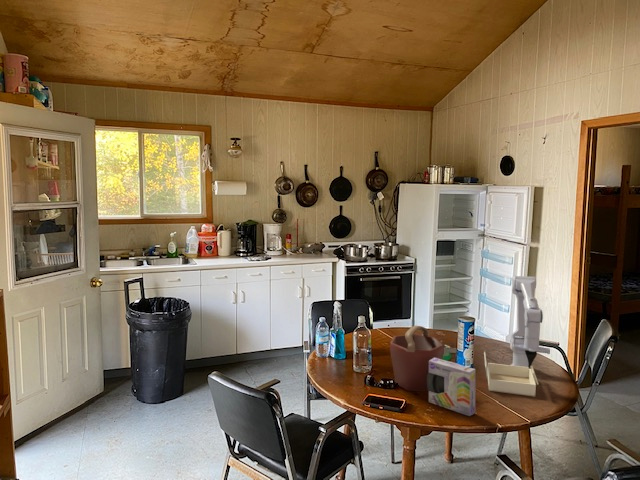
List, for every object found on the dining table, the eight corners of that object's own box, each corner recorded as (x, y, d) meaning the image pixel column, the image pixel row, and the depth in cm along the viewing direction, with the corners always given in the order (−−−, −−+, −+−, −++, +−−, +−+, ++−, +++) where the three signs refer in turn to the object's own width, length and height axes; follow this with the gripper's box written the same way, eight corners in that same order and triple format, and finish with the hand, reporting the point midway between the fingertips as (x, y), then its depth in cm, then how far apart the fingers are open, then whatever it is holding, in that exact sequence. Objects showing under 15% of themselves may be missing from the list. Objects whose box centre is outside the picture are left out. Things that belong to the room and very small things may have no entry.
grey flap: (486, 362, 226) (485, 362, 226) (485, 351, 226) (484, 351, 226) (488, 378, 207) (486, 378, 207) (486, 367, 207) (485, 367, 207)
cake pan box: (425, 401, 197) (426, 358, 195) (432, 397, 200) (433, 355, 198) (469, 418, 183) (471, 372, 181) (475, 413, 187) (478, 368, 185)
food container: (430, 361, 241) (430, 341, 239) (440, 360, 243) (441, 340, 242) (445, 370, 229) (445, 349, 228) (456, 369, 231) (457, 348, 230)
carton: (487, 373, 226) (487, 362, 226) (529, 378, 221) (530, 367, 221) (488, 390, 207) (489, 379, 207) (535, 396, 202) (535, 384, 202)
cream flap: (537, 384, 201) (538, 384, 201) (532, 373, 201) (533, 372, 201) (531, 367, 220) (532, 366, 220) (527, 356, 220) (528, 356, 220)
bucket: (419, 399, 198) (422, 339, 195) (375, 383, 213) (377, 327, 210) (450, 382, 216) (453, 326, 213) (408, 368, 231) (409, 316, 228)
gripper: (514, 337, 208) (512, 369, 209) (552, 341, 204) (549, 373, 205) (513, 333, 215) (511, 363, 216) (549, 336, 210) (547, 367, 212)
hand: (529, 367), depth 211 cm, fingers closed, pressing on cream flap
